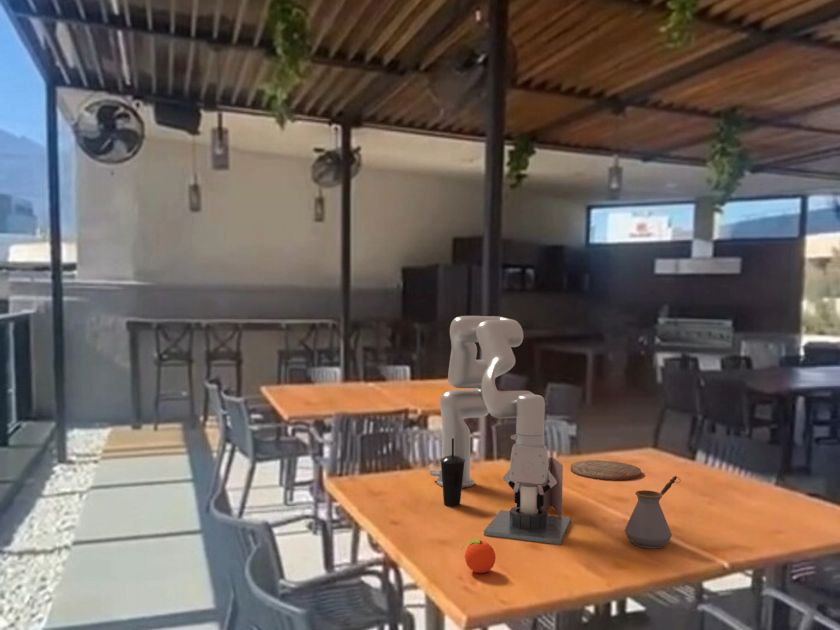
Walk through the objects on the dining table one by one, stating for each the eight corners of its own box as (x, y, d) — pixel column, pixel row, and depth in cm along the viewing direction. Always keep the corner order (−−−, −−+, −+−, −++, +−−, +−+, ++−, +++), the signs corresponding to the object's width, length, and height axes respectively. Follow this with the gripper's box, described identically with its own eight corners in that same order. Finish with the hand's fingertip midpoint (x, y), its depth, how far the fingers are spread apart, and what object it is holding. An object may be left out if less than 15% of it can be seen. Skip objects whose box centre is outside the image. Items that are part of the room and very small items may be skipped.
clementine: (456, 574, 157) (456, 543, 157) (465, 564, 164) (465, 533, 164) (490, 580, 154) (491, 547, 154) (498, 569, 161) (499, 538, 161)
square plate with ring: (483, 535, 184) (483, 517, 184) (500, 514, 203) (501, 497, 203) (560, 544, 178) (560, 526, 178) (570, 522, 196) (571, 505, 196)
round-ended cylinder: (517, 519, 189) (518, 481, 189) (521, 513, 194) (521, 477, 193) (536, 521, 187) (537, 483, 187) (540, 515, 192) (540, 479, 192)
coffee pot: (657, 554, 172) (658, 493, 171) (615, 542, 180) (616, 484, 180) (696, 535, 186) (698, 479, 186) (656, 525, 195) (657, 471, 194)
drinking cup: (468, 502, 214) (469, 437, 214) (459, 509, 207) (460, 442, 207) (445, 499, 217) (446, 435, 217) (435, 506, 210) (436, 439, 210)
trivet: (629, 485, 239) (630, 479, 239) (560, 474, 253) (560, 469, 253) (649, 471, 260) (649, 466, 260) (583, 462, 274) (583, 457, 274)
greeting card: (548, 505, 213) (549, 456, 213) (572, 509, 209) (572, 459, 209) (534, 514, 203) (535, 463, 203) (559, 519, 199) (560, 466, 199)
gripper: (496, 440, 189) (495, 507, 190) (559, 445, 184) (558, 514, 184) (502, 435, 196) (501, 500, 197) (563, 440, 191) (562, 506, 191)
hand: (529, 506), depth 190 cm, fingers closed on round-ended cylinder, 4 cm apart
